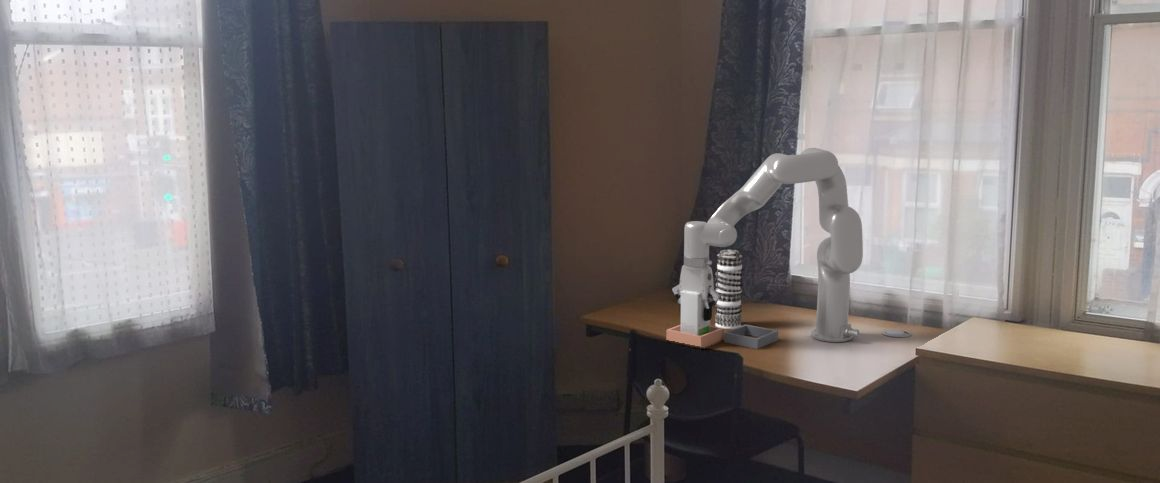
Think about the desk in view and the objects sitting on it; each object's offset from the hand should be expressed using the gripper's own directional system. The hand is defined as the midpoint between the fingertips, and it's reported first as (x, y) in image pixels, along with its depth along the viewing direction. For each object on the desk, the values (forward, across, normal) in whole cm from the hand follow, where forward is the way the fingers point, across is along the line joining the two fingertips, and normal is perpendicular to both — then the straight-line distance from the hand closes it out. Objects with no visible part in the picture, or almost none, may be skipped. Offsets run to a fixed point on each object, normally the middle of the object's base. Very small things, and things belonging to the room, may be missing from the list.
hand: (695, 317), depth 283 cm
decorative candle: (+8, +2, -22) cm, 24 cm away
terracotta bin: (+8, 0, 0) cm, 8 cm away
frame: (+8, -13, -12) cm, 19 cm away
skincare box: (+7, 0, 0) cm, 7 cm away
